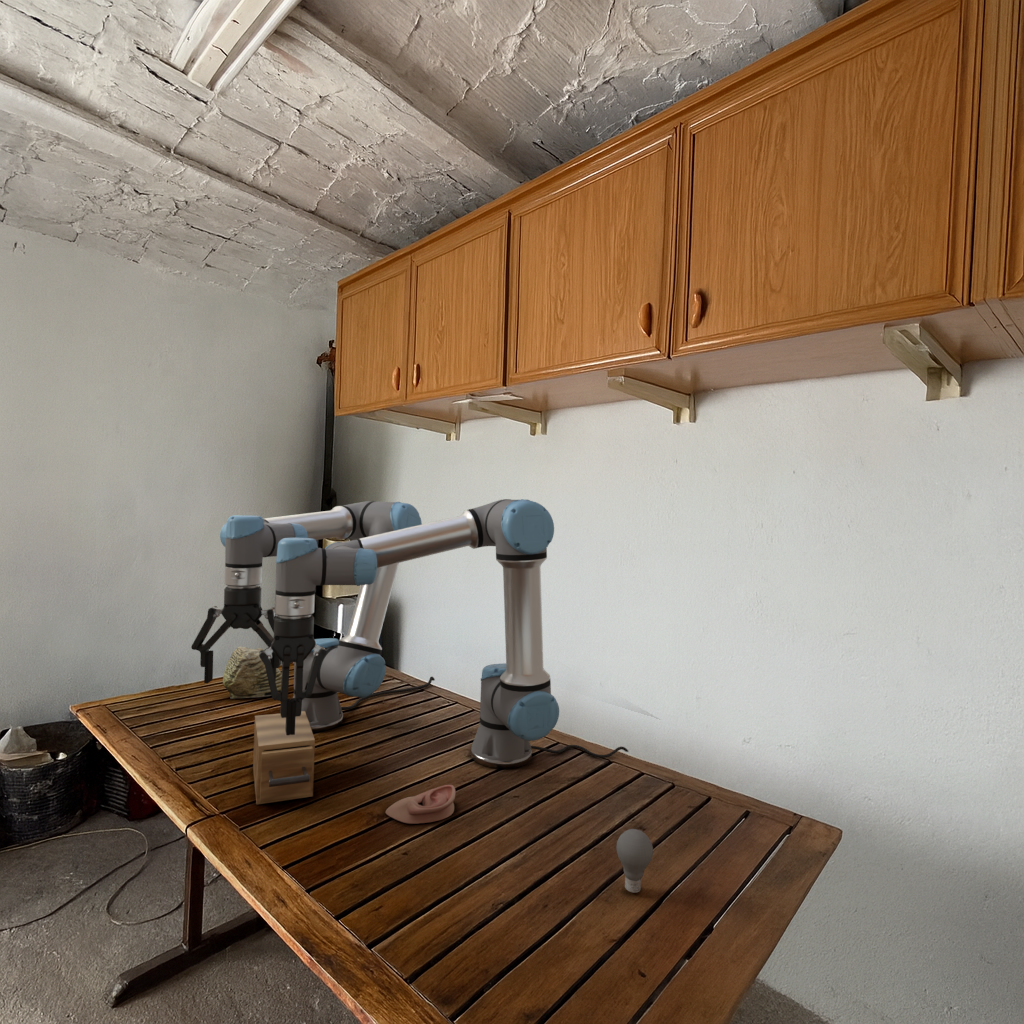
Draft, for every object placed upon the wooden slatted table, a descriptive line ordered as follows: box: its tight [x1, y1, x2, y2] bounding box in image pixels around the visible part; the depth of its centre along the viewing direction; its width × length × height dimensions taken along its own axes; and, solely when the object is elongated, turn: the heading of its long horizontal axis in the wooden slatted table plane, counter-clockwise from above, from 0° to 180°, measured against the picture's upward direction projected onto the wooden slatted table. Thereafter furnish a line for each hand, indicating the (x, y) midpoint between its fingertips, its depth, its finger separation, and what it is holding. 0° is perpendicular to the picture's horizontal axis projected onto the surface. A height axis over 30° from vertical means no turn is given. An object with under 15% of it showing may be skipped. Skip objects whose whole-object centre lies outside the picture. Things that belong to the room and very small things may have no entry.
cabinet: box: [252, 711, 316, 805], centre depth 140 cm, size 19×11×12 cm, turn 24°
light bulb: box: [615, 828, 654, 894], centre depth 106 cm, size 6×6×10 cm
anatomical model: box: [385, 784, 456, 825], centre depth 129 cm, size 13×4×12 cm
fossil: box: [222, 646, 282, 699], centre depth 198 cm, size 9×18×15 cm, turn 132°
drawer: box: [260, 746, 313, 804], centre depth 135 cm, size 23×10×10 cm, turn 24°
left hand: (240, 682), depth 139 cm, fingers open, 13 cm apart
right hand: (290, 732), depth 127 cm, fingers closed
